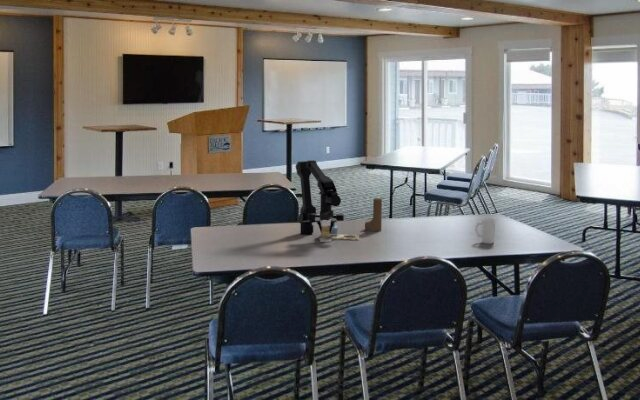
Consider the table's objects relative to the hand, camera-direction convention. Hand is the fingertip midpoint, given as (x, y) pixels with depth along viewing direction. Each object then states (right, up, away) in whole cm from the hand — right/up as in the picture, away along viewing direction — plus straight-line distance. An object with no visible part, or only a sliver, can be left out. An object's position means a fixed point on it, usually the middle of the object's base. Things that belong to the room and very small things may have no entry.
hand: (325, 233), depth 377 cm
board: (+7, -3, +8) cm, 11 cm away
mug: (+82, -5, -1) cm, 82 cm away
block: (0, -1, 0) cm, 1 cm away
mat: (0, -4, 0) cm, 4 cm away
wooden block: (+27, 0, +29) cm, 40 cm away
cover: (+2, -2, +8) cm, 9 cm away
